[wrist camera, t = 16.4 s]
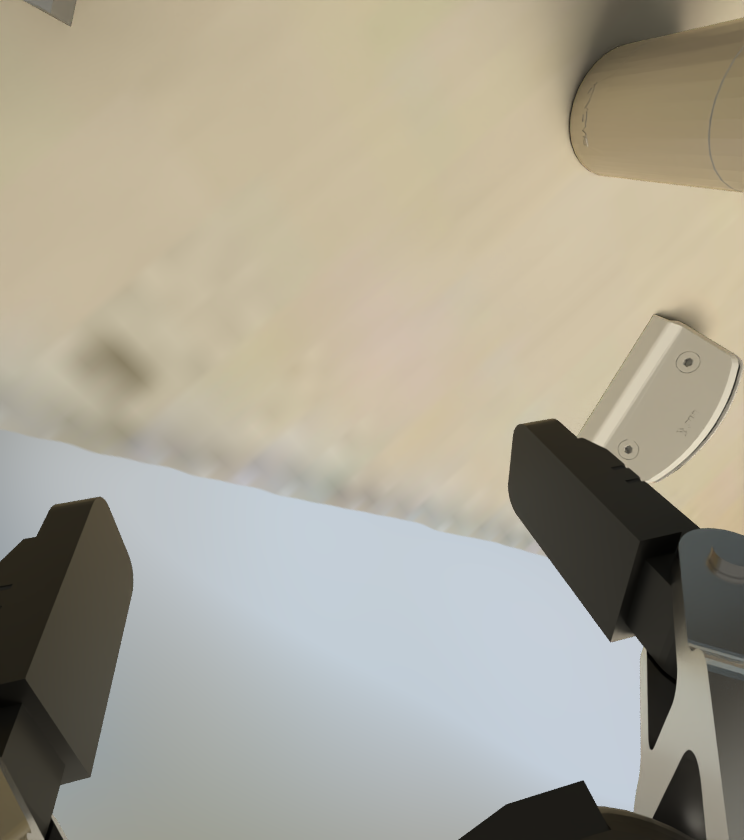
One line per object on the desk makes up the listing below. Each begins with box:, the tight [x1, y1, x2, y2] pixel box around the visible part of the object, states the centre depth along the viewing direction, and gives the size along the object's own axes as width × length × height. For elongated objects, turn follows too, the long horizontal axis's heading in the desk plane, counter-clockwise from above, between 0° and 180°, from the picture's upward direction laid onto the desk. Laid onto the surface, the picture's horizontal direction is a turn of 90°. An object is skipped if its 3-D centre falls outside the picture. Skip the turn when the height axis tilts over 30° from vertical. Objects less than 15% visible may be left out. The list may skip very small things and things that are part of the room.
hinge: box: [577, 315, 744, 483], centre depth 53 cm, size 17×5×10 cm, turn 158°
